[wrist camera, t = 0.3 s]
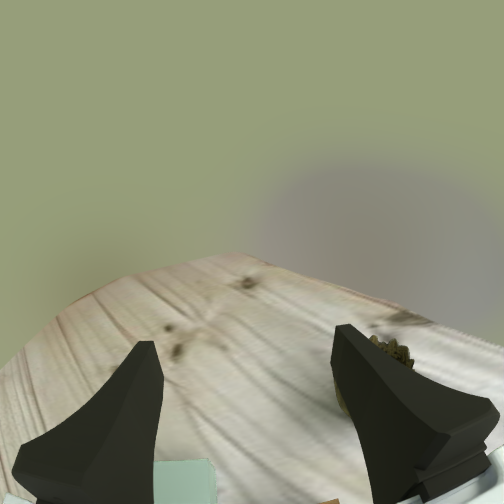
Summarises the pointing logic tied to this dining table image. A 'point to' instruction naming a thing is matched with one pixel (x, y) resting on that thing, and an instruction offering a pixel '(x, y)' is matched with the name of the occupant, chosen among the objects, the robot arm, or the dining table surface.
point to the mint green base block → (184, 482)
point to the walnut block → (331, 502)
